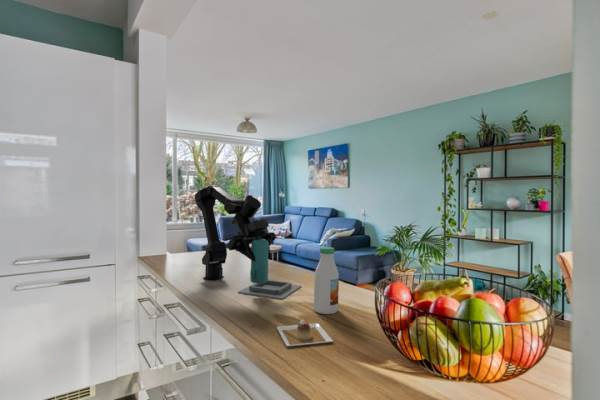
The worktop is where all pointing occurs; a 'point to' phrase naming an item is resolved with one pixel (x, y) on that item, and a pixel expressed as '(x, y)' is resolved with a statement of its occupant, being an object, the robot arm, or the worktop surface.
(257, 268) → the beverage bottle
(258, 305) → the worktop surface
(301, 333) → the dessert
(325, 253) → the milk bottle
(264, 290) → the grey square base plate
